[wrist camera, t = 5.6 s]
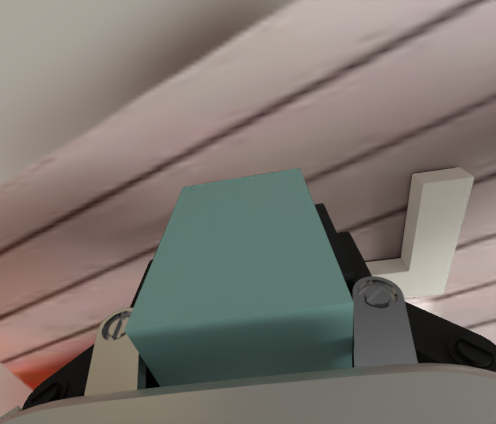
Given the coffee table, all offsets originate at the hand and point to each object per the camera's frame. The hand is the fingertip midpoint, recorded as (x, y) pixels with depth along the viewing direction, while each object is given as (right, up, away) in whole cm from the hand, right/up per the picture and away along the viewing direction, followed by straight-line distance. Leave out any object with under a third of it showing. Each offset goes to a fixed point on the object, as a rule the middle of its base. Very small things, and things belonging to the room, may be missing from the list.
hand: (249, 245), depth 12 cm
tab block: (0, +1, +1) cm, 2 cm away
